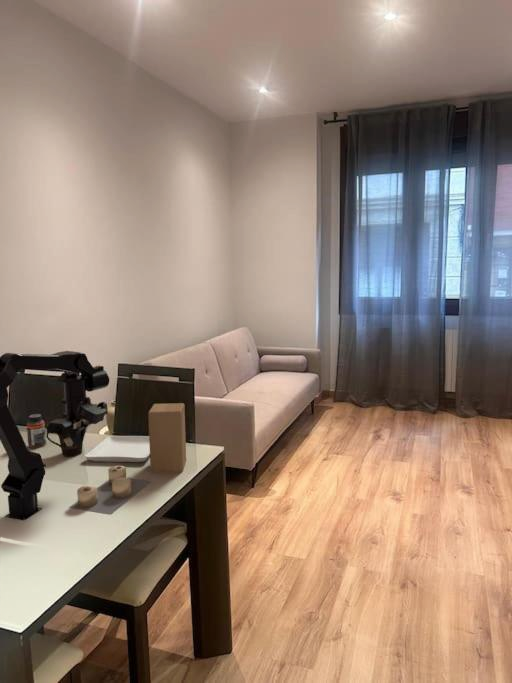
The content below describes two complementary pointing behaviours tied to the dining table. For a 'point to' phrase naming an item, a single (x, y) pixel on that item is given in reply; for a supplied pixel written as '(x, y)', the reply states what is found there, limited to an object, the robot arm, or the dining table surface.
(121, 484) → the plain puck
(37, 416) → the supplement bottle
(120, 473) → the two dot puck
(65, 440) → the coffee mug
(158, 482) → the dining table surface
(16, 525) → the dining table surface
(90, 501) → the one dot puck
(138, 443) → the salad plate
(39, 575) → the dining table surface
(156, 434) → the wooden block
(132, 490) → the mat
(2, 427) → the robot arm
